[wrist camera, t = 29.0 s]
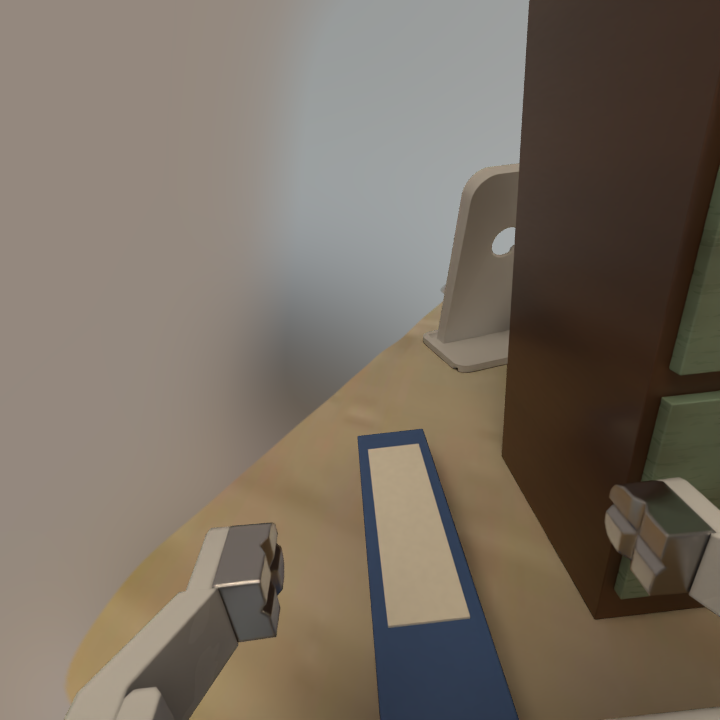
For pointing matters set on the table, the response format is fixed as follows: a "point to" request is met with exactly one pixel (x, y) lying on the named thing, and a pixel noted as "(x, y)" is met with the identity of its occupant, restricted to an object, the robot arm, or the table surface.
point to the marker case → (423, 593)
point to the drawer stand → (615, 274)
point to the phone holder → (479, 275)
